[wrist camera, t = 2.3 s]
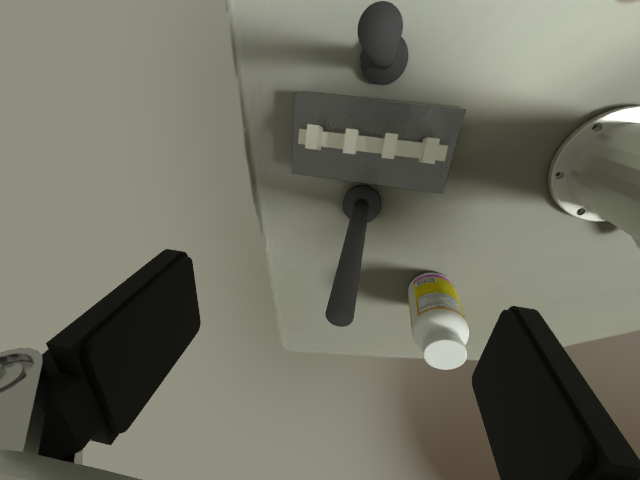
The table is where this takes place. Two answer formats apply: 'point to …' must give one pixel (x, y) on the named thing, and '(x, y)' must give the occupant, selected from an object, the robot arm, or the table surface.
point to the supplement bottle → (438, 321)
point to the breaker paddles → (373, 144)
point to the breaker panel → (376, 122)
